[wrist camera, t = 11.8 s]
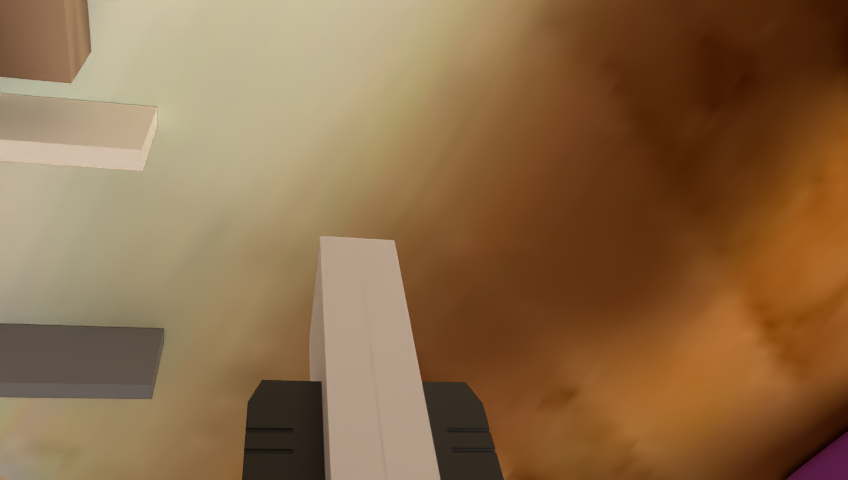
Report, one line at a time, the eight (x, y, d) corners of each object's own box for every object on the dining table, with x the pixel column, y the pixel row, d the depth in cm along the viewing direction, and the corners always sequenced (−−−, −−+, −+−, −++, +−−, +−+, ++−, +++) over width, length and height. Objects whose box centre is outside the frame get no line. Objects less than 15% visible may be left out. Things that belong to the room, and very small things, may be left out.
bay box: (147, -225, 29) (126, -219, 25) (163, 342, 44) (152, 398, 40) (-218, -288, 26) (-302, -291, 23) (-70, 335, 41) (-106, 395, 37)
